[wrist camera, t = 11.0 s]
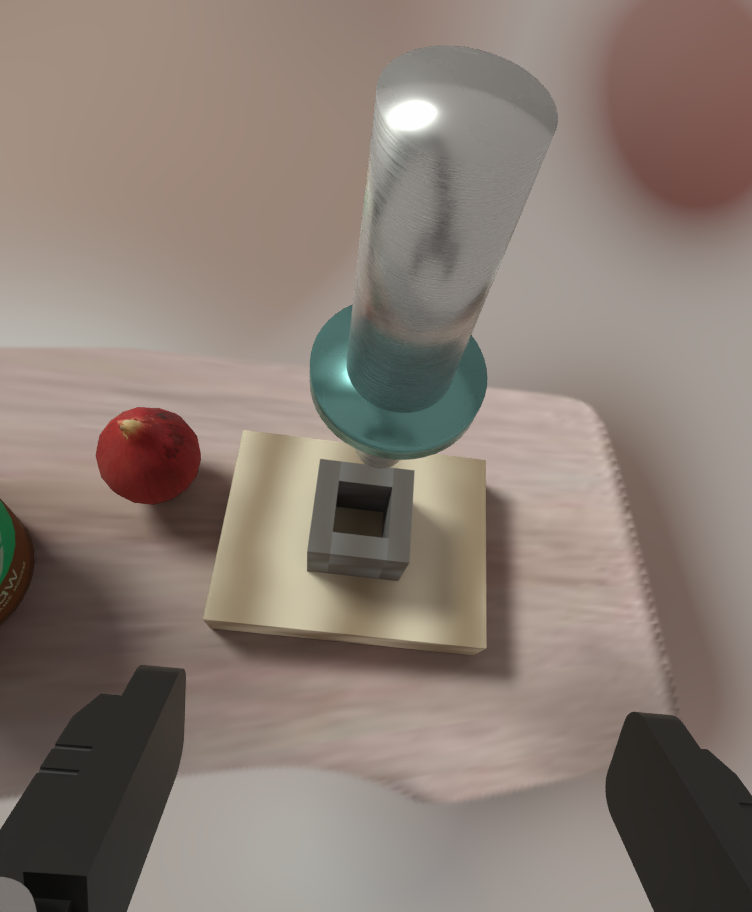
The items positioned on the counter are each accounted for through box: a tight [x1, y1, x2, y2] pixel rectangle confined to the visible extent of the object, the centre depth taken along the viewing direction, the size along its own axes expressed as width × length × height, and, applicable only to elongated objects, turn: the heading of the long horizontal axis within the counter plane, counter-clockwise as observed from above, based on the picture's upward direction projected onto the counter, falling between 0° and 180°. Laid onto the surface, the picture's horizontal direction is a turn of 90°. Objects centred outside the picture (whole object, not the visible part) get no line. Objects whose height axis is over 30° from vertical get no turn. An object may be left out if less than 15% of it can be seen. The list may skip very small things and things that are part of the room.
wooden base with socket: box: [203, 430, 486, 655], centre depth 34 cm, size 16×12×7 cm
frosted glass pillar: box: [310, 46, 558, 469], centre depth 18 cm, size 6×6×15 cm
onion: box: [96, 407, 201, 505], centre depth 34 cm, size 6×6×8 cm
